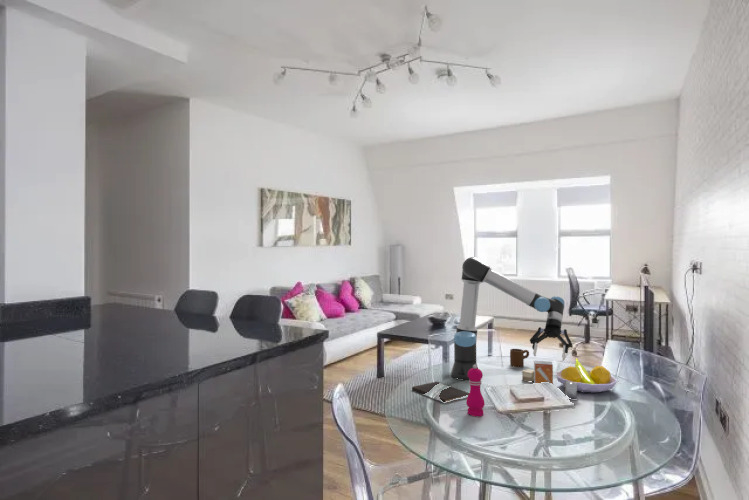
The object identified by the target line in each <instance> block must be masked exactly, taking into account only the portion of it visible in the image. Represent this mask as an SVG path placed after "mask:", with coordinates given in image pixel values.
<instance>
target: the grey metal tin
mask: <svg viewBox="0 0 749 500" xmlns="http://www.w3.org/2000/svg"><path fill="white" fill-rule="evenodd" d="M565 394H566V395H567V396H568V397H569V398H571V399H577V400H578V390H577V383H575V382H571V381H566V382H565V385H564V395H565Z"/></svg>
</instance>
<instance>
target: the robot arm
mask: <svg viewBox="0 0 749 500" xmlns="http://www.w3.org/2000/svg"><path fill="white" fill-rule="evenodd" d="M461 270H462V272H461V281H462V282H463V287H462V298H461V307H460V316H459V317H460V319H459V325H457V326H456V332H455V333H454V336H453V347H454V349H453V350H454V351H453V352H454V355H453V358H454V362H453V365H452V368H451V370H450V371H451V372H450V376H451V378H453V379H454V378H458V379H463V380H462V381H465V380H470V379H469V377H468V371H469V370H470V369H471V368H473V365H474V364H476V365H477V368H478V369H479V367H478V364H477V341H478V339H477V337H478V329H477V327H476V319H477V310H478V301H479V292H480V291H479V290H480V285H481V284H482V283H486V284H487V285H489V286H491V287H493V288H495V289H497V290H500V291H501V292H503V293H505V294H507V295H509V296H510V297H512V298H515V299H516V300H518V301H520V302H522V303H524V304H525V305H526V306H528V307H530V308H533V309H534V310H536V311H537V312H540V313H546V312H547V315H546V316H547V317H546V321H545V327H544V328H542V327H538V329H537V330H536V332H535V333H534V334H533V335H532V336H531V338H530V339H529V343H530V344H532V347H531V348H532V350H533V352H532V355H533V356H534V357H536V356H537V350H538V344H539V343H540V342H542V341H543V340H545V339H548V338H551V339H558V340H559V341H560V342H561V344H562V346H563V347H562V348H563V349H562V354H561V356H562V357H561V358H562V360H564V361H565V358H566V354H568V353H569V348H571V349H572V348H573V343H572V341H571V338H570V337H569V335H568V330H567V329H565V328H564V329H562V325H563V324H562V323H563V317H564V316H563V315H564V312H565V311H564V310H565V300H564V298H562V297H560V296H555V295H554V296H552V297H550V298H549V297H546V296H543V295H540V294H538V293H537V292H535V291H533V290H531V289H529V288H527V287H525V286H523V285H521V284H520V283H518V282H516V281H513V280H512V279H510V278H508V277H506V276H505V275H503V274H501V273H499V272H497V271H495V270H493V269H492V267H491V266H490V265H488V264H486V263H485V262H484V261H483V260H481V259H480V258H478V257H475V256H472V257H471V256H470V257H468V258H466V259H465V260H464V262H463V263H462V269H461ZM561 334H562V335H563V336H564V338H565V339H564V338H563V336H561ZM458 379H457V380H458Z"/></svg>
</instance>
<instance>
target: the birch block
mask: <svg viewBox="0 0 749 500" xmlns="http://www.w3.org/2000/svg"><path fill="white" fill-rule="evenodd" d="M521 375H522V376H521V377H522V381H524V380H526V381H525V382H528V381H534V369H533V370H532V369H530V368H528V369H523V370H522V372H521Z"/></svg>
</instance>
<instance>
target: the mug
mask: <svg viewBox="0 0 749 500" xmlns="http://www.w3.org/2000/svg"><path fill="white" fill-rule="evenodd" d="M509 351H510V352H509V364H510V366H511V367H513V366H514V368H523V367H524V363H525V361H524V360H526V359H528V358H529V356H530V351H529V350H527V349H521V348H520V349H519V348H511V349H510V350H509ZM524 354H525V355H524Z"/></svg>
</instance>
